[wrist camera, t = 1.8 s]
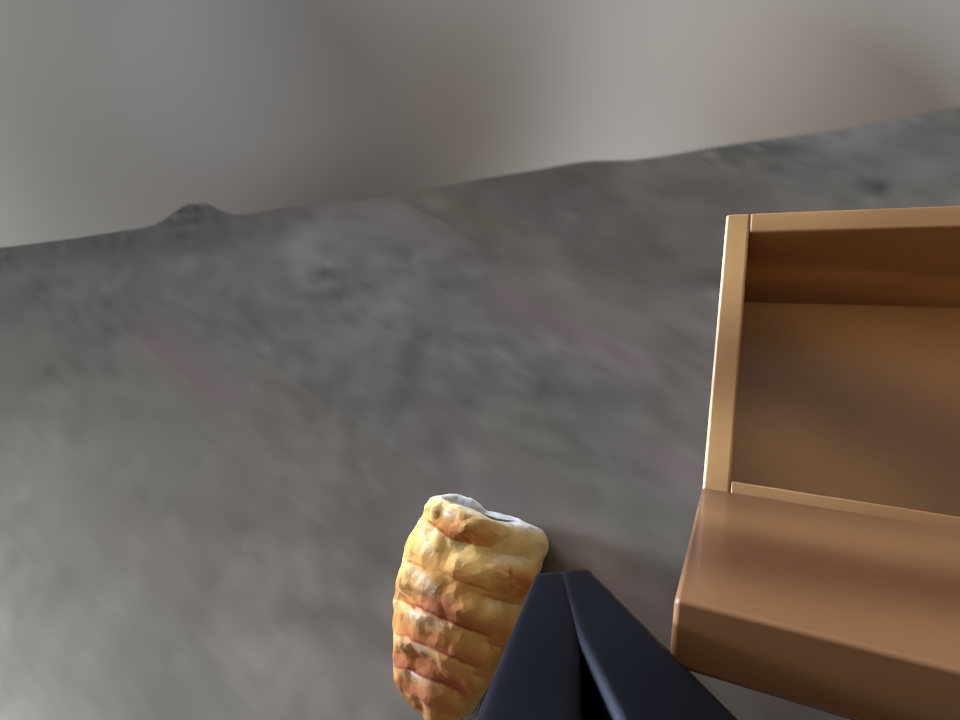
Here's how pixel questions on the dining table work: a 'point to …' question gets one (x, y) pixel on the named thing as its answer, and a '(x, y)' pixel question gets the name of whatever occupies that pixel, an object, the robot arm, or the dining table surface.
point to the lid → (822, 607)
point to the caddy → (840, 362)
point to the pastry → (459, 602)
